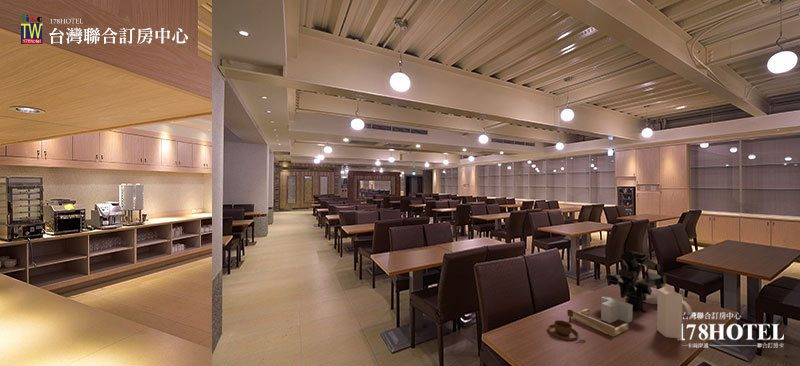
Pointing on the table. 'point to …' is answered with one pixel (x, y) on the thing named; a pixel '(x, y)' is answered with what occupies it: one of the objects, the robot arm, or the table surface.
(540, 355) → the table surface
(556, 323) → the brown cup and saucer
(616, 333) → the birch bay
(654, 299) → the spoon rest
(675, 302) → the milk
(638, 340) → the table surface
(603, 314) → the t block
